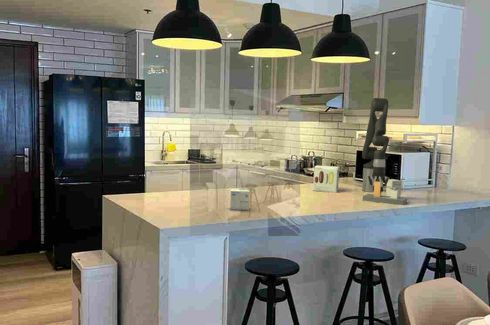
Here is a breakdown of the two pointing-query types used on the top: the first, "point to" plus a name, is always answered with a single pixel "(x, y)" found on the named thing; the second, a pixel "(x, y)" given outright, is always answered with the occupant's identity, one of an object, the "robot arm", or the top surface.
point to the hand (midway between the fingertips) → (377, 191)
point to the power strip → (387, 198)
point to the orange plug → (377, 189)
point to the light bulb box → (239, 199)
